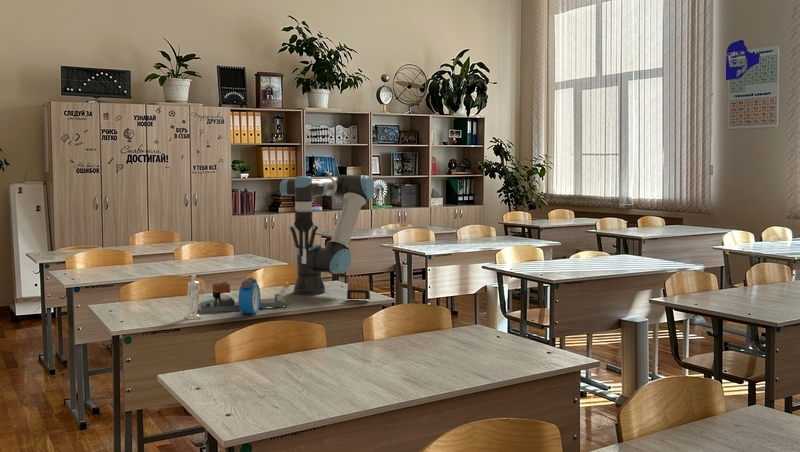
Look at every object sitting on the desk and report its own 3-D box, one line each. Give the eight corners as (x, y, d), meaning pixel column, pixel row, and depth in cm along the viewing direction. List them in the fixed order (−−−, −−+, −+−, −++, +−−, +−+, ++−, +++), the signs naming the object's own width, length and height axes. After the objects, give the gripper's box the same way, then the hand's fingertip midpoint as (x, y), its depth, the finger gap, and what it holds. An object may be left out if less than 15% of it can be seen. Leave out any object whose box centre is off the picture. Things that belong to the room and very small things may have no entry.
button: (230, 299, 323) (229, 292, 322) (231, 301, 318) (231, 294, 318) (219, 299, 321) (219, 293, 321) (221, 301, 317) (221, 295, 317)
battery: (230, 303, 332) (230, 282, 331) (215, 305, 329) (215, 283, 327) (227, 302, 336) (226, 280, 335) (212, 303, 332) (212, 281, 331)
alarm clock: (252, 317, 306) (251, 281, 304) (237, 317, 306) (237, 281, 305) (260, 310, 319) (260, 276, 317) (246, 310, 319) (246, 276, 318)
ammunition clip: (346, 300, 341) (346, 274, 339) (348, 299, 342) (348, 274, 341) (369, 301, 338) (369, 275, 337) (370, 300, 340) (370, 275, 338)
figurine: (205, 315, 309) (203, 272, 308) (206, 318, 303) (205, 275, 301) (184, 316, 307) (183, 274, 305) (185, 320, 300) (183, 276, 298)
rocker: (214, 300, 320) (214, 297, 319) (215, 301, 317) (215, 298, 316) (200, 303, 318) (200, 301, 317) (201, 305, 315) (201, 302, 314)
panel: (282, 303, 334) (282, 292, 333) (287, 307, 325) (287, 296, 325) (198, 309, 320) (198, 298, 320) (201, 313, 312) (200, 302, 311)
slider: (259, 298, 328) (259, 292, 328) (260, 299, 326) (260, 293, 326) (255, 299, 328) (255, 292, 327) (256, 300, 326) (256, 293, 325)
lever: (281, 298, 330) (289, 282, 331) (282, 299, 328) (291, 283, 328) (276, 296, 329) (284, 280, 330) (277, 297, 327) (286, 281, 327)
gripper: (315, 210, 334) (315, 261, 337) (287, 210, 330) (287, 262, 332) (320, 211, 327) (320, 263, 330) (291, 211, 323) (291, 265, 325)
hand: (303, 263), depth 331 cm, fingers closed
